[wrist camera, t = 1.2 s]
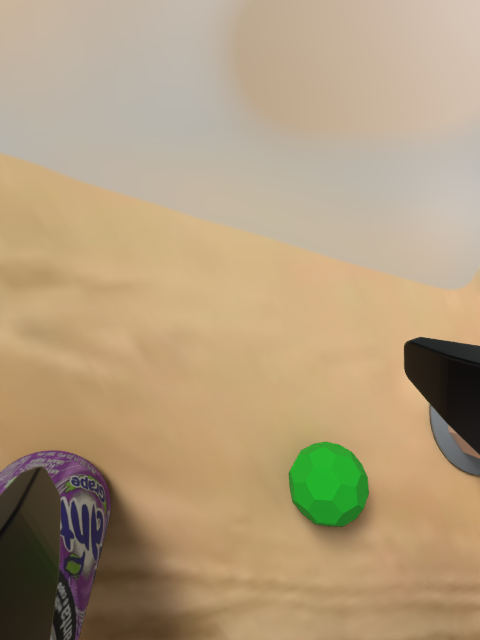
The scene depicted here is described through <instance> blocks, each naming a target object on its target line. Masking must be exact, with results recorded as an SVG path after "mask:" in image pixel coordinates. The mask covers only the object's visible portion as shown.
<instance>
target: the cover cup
mask: <svg viewBox="0 0 480 640" xmlns="http://www.w3.org/2000/svg"><path fill="white" fill-rule="evenodd" d="M448 429H449V432H450V434H451V435H452V437H453V438H454V440H455V441H456V443H457V444H458V446H459V447H460V449H461V450H462V452H464V453H466V454H469V455H471V456H473V457H475V458H478V459H480V455H479V454H478V453H477V452H476V451H475V450H474V449H473V448H472V447H471V446H470V445H468V444H467V443H466V442H465V441H464V440H463V439H462V438H461V437H460V436H459V435H458V434H457V433H456V432H455V431H454V430H453V429H452V428H451V427H450V426H449V425H448Z"/></svg>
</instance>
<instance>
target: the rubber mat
mask: <svg viewBox="0 0 480 640" xmlns="http://www.w3.org/2000/svg"><path fill="white" fill-rule="evenodd" d="M430 423H431V429H432V432H433V435H434V438H435V441H436V443H437V445H438V447H439V448H440V450H441V452H442V453H443V454H444V456H445V457H446V458H447V459H448V460H449V461H450V462H451V463H452V464H453V465H455V466H456V467H458V468H459V469H461V470H463V471H465V472H468V473H471V474H474V475H479V476H480V459H478V458H475V457H473V456H471V455H469V454H466V453H464V452H462V450H461V449H460V447H459V446H458V444H457V443H456V441H455V440H454V438H453V437H452V435H451V434H450V432H449V429H448V424H447V423H446V422H445V421H444V420H443V418H442V417H441V416H440V415H439V414H438V413H437V412H436V410H435V409H434V408H433V407H432V406H431V405H430Z"/></svg>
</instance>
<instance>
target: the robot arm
mask: <svg viewBox="0 0 480 640" xmlns="http://www.w3.org/2000/svg"><path fill="white" fill-rule="evenodd" d="M404 369H405V373H406V375H407V377H408V379H409V380H410V381H411V382H412V383H413V384H414V386H415V387H416V388H417V389H418V390H419V392H420V393H421V394H422V395H423V396H424V397H425V399H426V400H427V401H428V402H429V403H430V405H431V406H432V407H433V408H434V409H435V410H436V412H437V413H438V414H439V415H440V416H441V417H442V418H443V420H444V421H445V422H446V423H447V424H448V425H449V426H450V427H451V428H452V429H453V430H454V431H455V432H456V433H457V434H458V435H459V436H460V437H461V438H462V439H463V440H464V441H465V442H466V443H467V444H468V445H470V446H471V447H472V448H473V449H474V450H475V451H476V452H477V453H478V454H479V455H480V346H477V345H470V344H464V343H457V342H450V341H444V340H437V339H431V338H424V337H418V338H415V339H412V340H409V341H407V342H406V343H405V345H404ZM60 521H61V498H60V494H59V491H58V489H57V488H56V486H55V484H54V482H53V480H52V479H51V477H50V475H49V473H48V472H47V470H46V469H45V468H44V467H43V466H37V467H34V468H31V469H29V470H26V471H23V472H21V473H20V474H19V475H18V476H17V477H16V479H15V480H14V481H13V482H12V483H11V484H10V485H9V486H8V487H7V488H6V489H5V490H4V491H3V492H2V493H1V494H0V640H50V638H51V631H52V623H53V616H54V608H55V601H56V593H57V586H58V577H59V563H60Z"/></svg>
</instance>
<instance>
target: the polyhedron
mask: <svg viewBox="0 0 480 640" xmlns="http://www.w3.org/2000/svg"><path fill="white" fill-rule="evenodd" d="M289 484H290V491H291V496H292V501H293V503H294V504H295V505H296V507H297V508H298V509H299V510H300V511H301V513H302V514H303V515H305V516H306V517H307V518H308V519H309V520H311V521H312V522H313V523H314V524H318V525H325V526H339V527H343V526H345V525H346V524H348V523H350V522H351V521H353V520H355V519H356V518H357V517H358V516H359V514H360V513H361V511H362V510H363V509H364V506H365V503H366V500H367V497H368V494H369V490H368V477H367V475H366V473H365V471H364V468H363V466H362V464H361V463H360V461H359V460H358V459H357V458H356V456H355V455H354V454H353V453H352V452H351V451H349V450H348V449H346V448H344V447H342V446H341V445H339V444H334V443H329V442H321V443H316V444H313V445H311V446H309V447H307V448H305V449H303V450H301V452H300V453H299V455H298V457H297V459H296V461H295V462H294V464H293V466H292V468H291V470H290V472H289Z"/></svg>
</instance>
